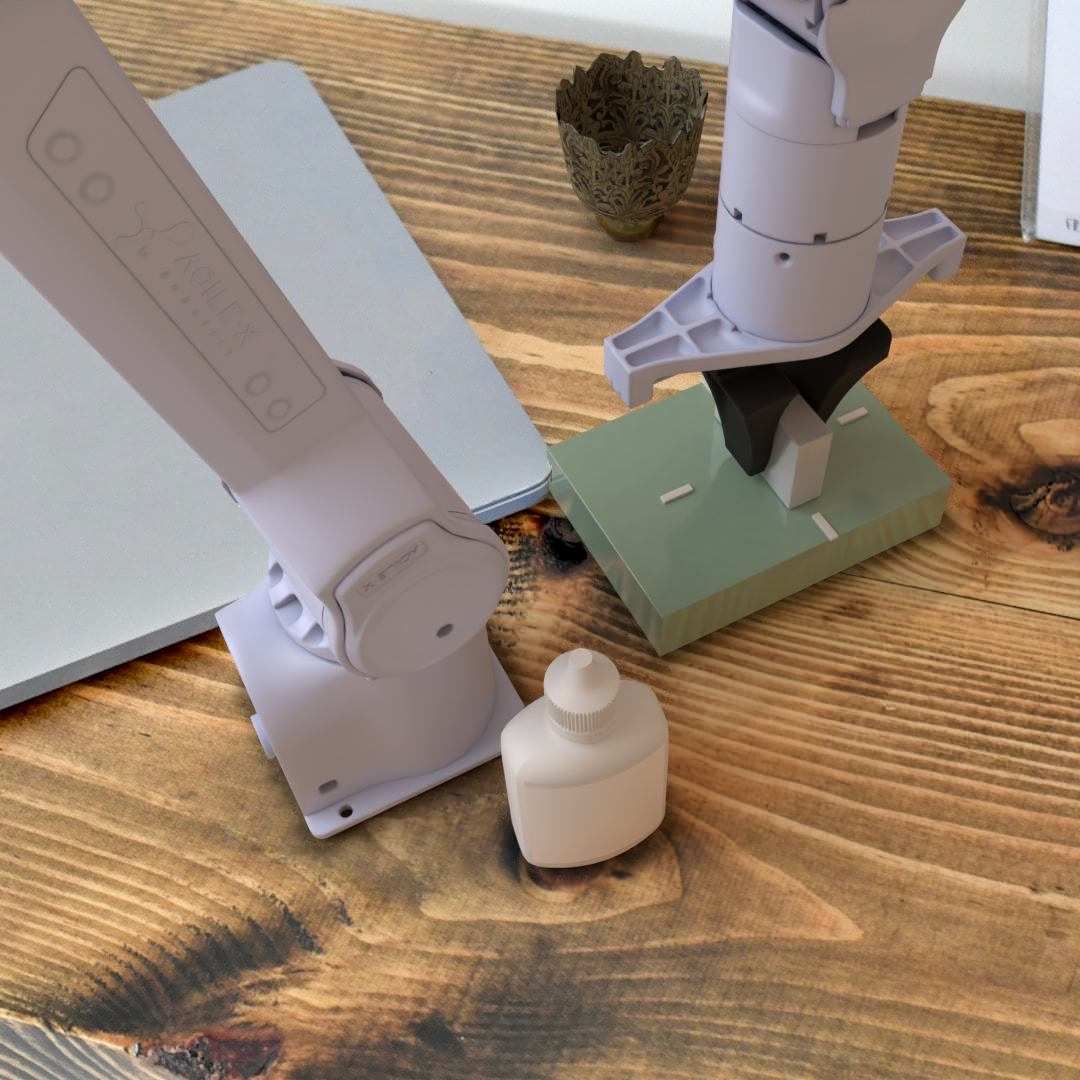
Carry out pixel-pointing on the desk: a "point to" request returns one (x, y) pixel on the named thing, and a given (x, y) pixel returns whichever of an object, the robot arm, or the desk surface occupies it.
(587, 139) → the cup
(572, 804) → the eye dropper bottle
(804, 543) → the plate
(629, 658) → the desk surface
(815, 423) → the tap handle
